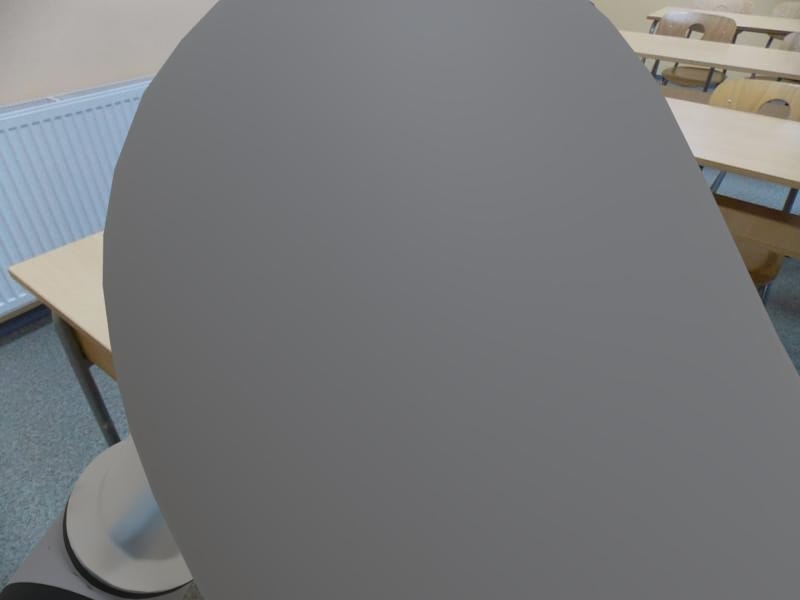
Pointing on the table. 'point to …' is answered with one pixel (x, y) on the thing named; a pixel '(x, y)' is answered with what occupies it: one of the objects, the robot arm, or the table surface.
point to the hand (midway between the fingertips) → (501, 410)
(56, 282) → the table surface
